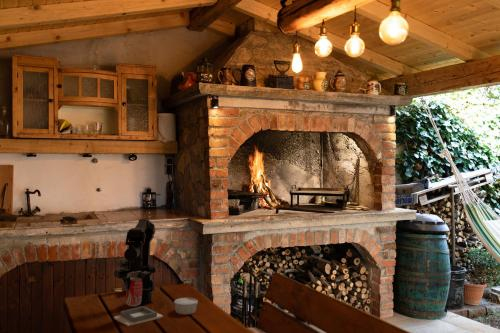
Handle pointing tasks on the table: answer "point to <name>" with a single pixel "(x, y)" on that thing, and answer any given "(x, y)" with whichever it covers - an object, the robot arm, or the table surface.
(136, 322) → the holder board
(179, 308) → the ramekin
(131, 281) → the soda can
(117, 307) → the table surface
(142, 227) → the robot arm
